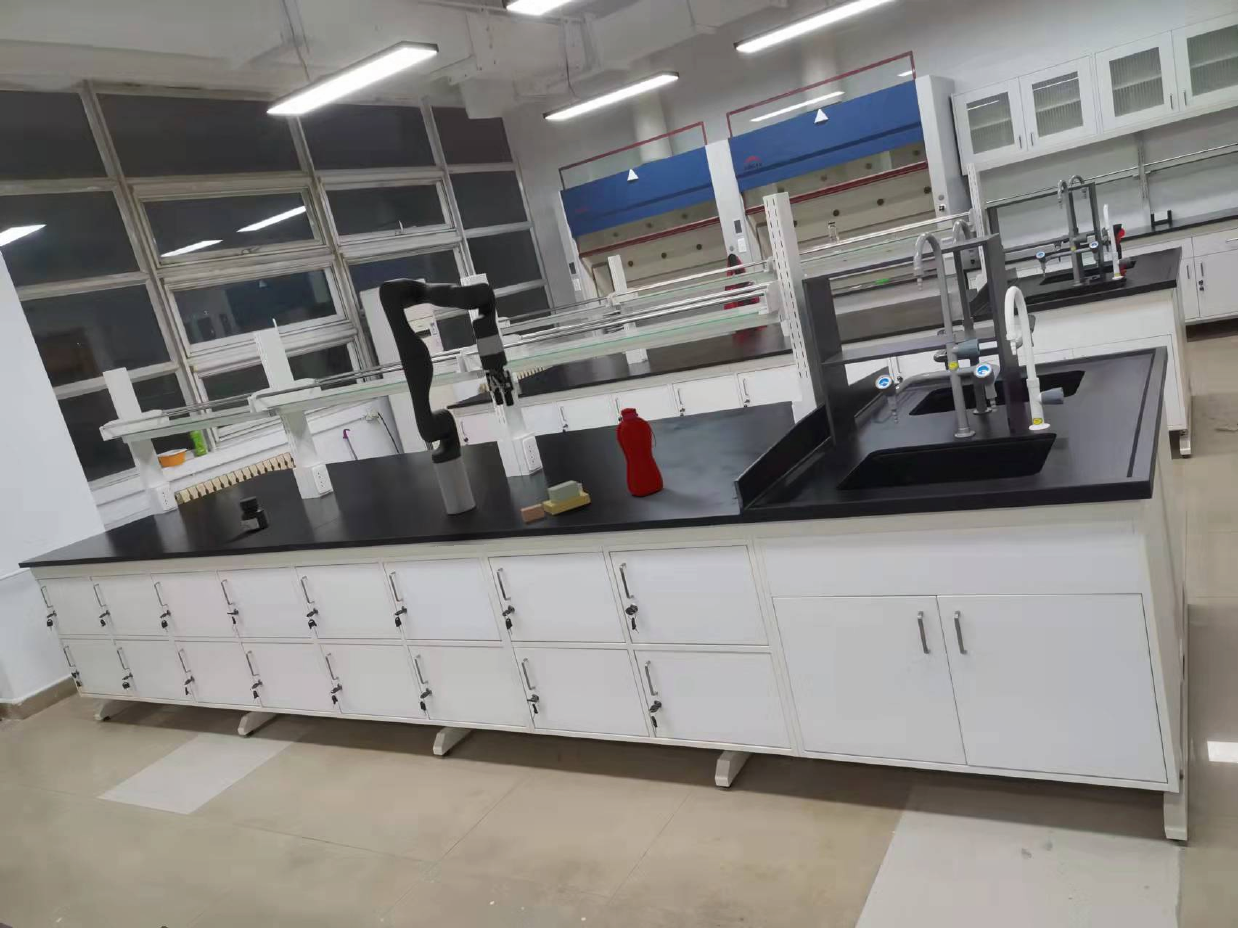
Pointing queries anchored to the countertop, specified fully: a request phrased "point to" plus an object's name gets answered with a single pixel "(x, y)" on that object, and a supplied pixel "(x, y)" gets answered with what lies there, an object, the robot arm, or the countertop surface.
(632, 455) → the water bottle
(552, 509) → the mustard base brick
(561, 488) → the sage brick
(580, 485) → the cream brick
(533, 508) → the rust brick
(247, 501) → the ink bottle
